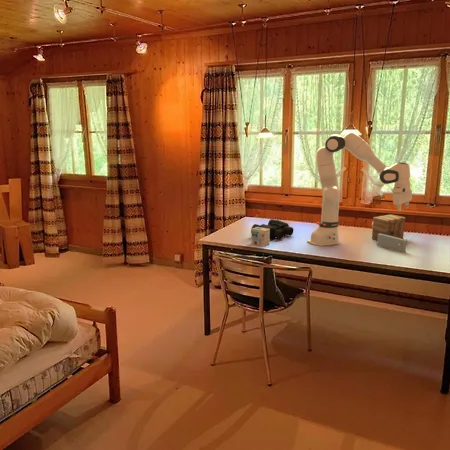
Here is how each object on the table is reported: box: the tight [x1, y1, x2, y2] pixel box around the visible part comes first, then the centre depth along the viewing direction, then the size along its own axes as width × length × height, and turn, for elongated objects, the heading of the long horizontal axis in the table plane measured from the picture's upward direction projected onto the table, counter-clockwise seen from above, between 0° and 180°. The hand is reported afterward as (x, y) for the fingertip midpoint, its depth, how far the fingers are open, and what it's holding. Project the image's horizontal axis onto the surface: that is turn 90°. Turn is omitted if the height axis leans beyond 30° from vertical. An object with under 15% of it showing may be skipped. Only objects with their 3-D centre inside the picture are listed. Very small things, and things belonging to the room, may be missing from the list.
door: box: [376, 233, 408, 254], centre depth 284 cm, size 20×4×8 cm, turn 32°
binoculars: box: [250, 219, 294, 240], centre depth 316 cm, size 29×20×10 cm
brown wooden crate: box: [371, 213, 406, 241], centre depth 306 cm, size 20×15×15 cm
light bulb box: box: [250, 227, 270, 247], centre depth 295 cm, size 11×7×11 cm, turn 56°
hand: (403, 209), depth 281 cm, fingers open, 8 cm apart
